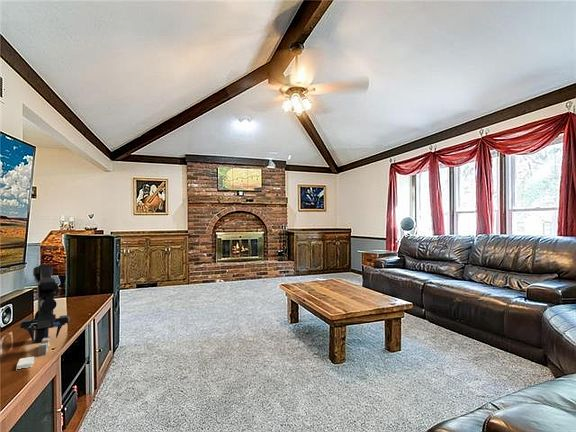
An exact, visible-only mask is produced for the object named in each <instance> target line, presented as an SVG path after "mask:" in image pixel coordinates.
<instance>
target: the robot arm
mask: <svg viewBox="0 0 576 432" xmlns="http://www.w3.org/2000/svg"><path fill="white" fill-rule="evenodd" d="M53 274H54V266H51V264H49V263H48V264H40V265H39V264H38V266H35V267H34V268H33V270H32V277H33V278H34V279H33V280H34V281H35V283H36V284H37V311H36V313H35V314H34V317H33V318H28V319H27V318H26V319H23V320H22V321H21V322H20V325H19V329H23V330H25V331H27V333H28V334H29V336H30V338H31V341H32V344H34V343H35V344H36V343H41V342H42V340H43V338H49V337H50V338H51V336H49V332H50V329H53V328H54V327H53V326H54V322H59V323H58V327H56V328H57V329H56V332H55V333H56V334H55V338H56V339H57V338H58V336H59V333H60V330H61V329H62V327H63V326H65V325H66V324H69V322H70V316H69V314H66V315H59V317H58V318H57V317H56V313H54V310H55V309H56V307H57V301H56V300H55V297H57V296H58V294H59V293H60V289H59V288H60V287H59V284H58V283H57V282H56V279H54V278H52V275H53Z"/></svg>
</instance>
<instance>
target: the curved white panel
mask: <svg viewBox="0 0 576 432" xmlns="http://www.w3.org/2000/svg"><path fill="white" fill-rule="evenodd" d="M48 337H49V336H48ZM50 338H51V336H50V337H49V338H43V340H42V342H40V344H39V346H38V350H37V351H38V355H37V357H43V356H42V355H44V356H46V355H47V352H48V349H49V348H50V340H51V339H50Z"/></svg>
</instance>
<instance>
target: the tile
mask: <svg viewBox="0 0 576 432" xmlns="http://www.w3.org/2000/svg"><path fill="white" fill-rule="evenodd" d="M34 362H35V356H29V357H22V358H19V360H18V362H17V364H16V370H17V369H21V368H28V367H33V365H34ZM32 364H33V365H32ZM28 369H29V368H28Z"/></svg>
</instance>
